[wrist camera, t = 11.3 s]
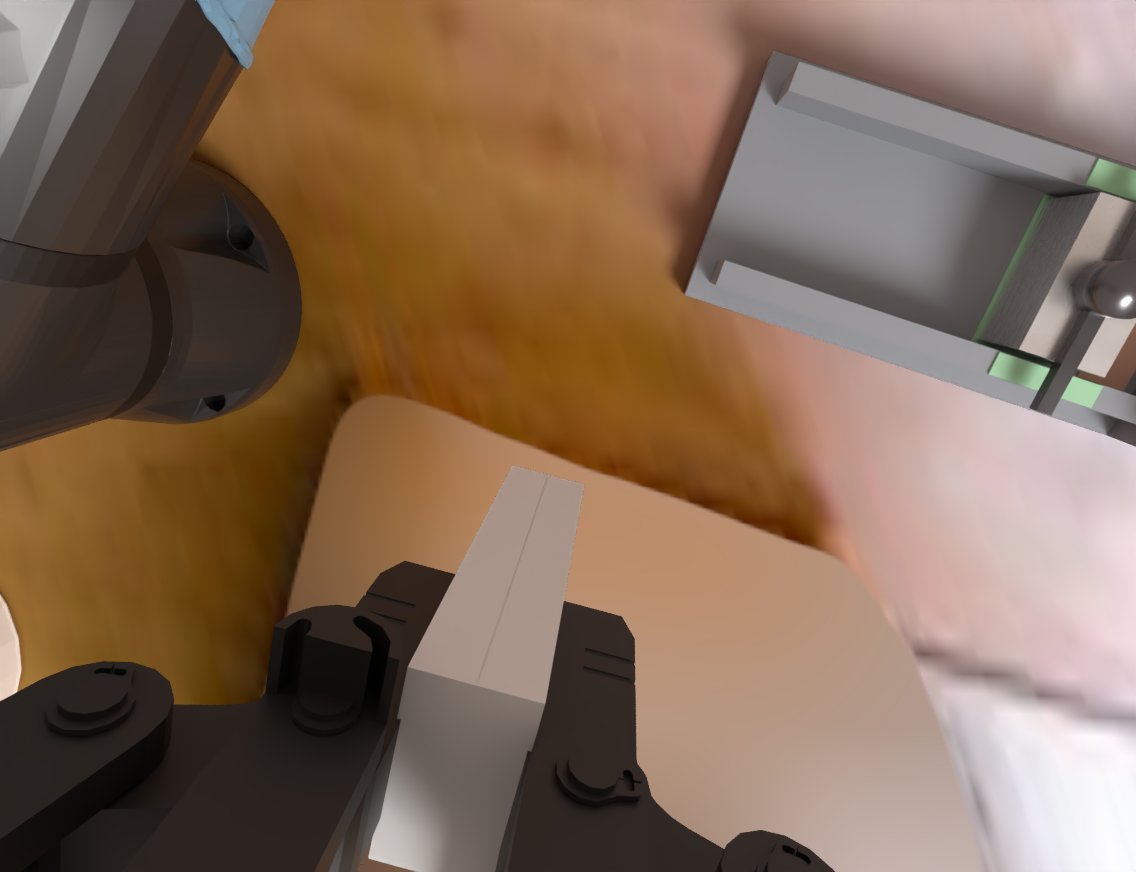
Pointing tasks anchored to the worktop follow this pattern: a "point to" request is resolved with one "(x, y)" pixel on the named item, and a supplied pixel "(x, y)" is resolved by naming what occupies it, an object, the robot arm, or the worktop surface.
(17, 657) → the kettle
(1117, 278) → the slider
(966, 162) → the gauge bed
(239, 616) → the worktop surface
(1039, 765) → the worktop surface
